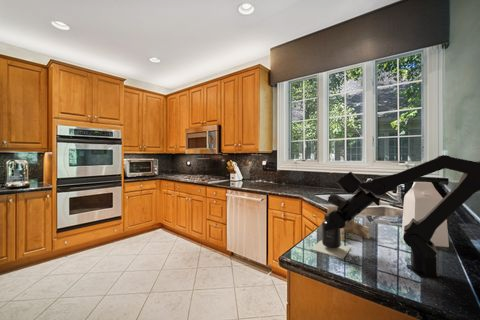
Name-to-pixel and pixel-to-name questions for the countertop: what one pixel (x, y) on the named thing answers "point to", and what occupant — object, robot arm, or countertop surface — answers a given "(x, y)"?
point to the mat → (331, 250)
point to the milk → (424, 209)
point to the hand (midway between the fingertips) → (327, 227)
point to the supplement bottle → (330, 235)
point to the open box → (351, 226)
